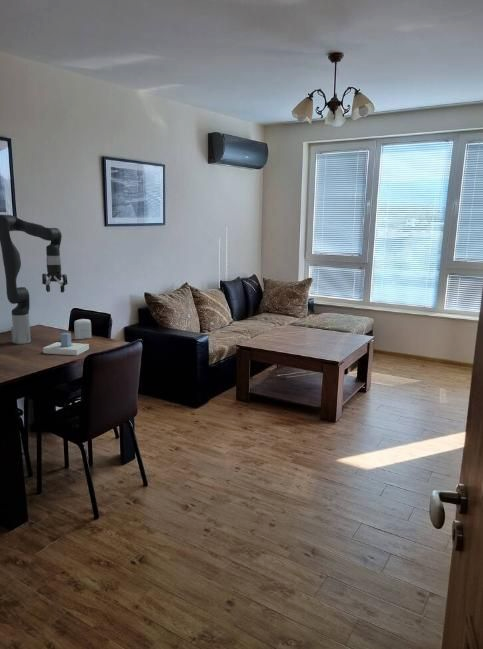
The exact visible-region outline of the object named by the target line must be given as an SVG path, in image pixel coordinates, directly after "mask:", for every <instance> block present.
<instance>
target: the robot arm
mask: <svg viewBox="0 0 483 649" xmlns="http://www.w3.org/2000/svg"><path fill="white" fill-rule="evenodd" d="M15 231H16V232H17V231H18V232H23V233H25V234H28V235H29V236H33V237H35V238H40V239H42V240H44V241H48V242H49V241H50V244H48V245H47V246H46V247H45V248H46V249H45V250H46V251H45V252H46V259H45V260H46V272H47V273H42V275H41V278H42V280H41V281H42V282H41V283H42V285H45V291H46V292H47V293H50V292H51V283H54V282H55V283H56V282H57V283H58V284H59V285H60V286H59V287H60V293H64V292H65V286H66V285H68V284H69V283H68V277H67V274H66V273H65V274H62V262H61V259H62V258H61V250H60V247H61V243H62V238H63V236H62V232H61V230H60V229H59V228H57V227H45V226H44V225H42V224H39V223H34V222H30V221H26V220H23V219H20V218H18V217H16V216H14V215H11V214H0V249H1V254H2V255H1V256H2V262H3V267H4V268H3V269H4V273H5V274H4V275H5V286H6V298H7V300H8V302H9V303H10V304H12V305H16V304H17V305H16V306H15V307H14V308H13V309H11V318H12V320H11V322H12V326H11V329H10V330H11V340H12V344H17V345H23V344H29V343H31V340H32V339H31V327H30V326H31V325H30V315H29V314H30V313H29V312H30V306H31V305H30V304H31V303H30V301H31V300H30V293H29V290H28V288H26V287H23V286H20V287H18V286H17V279H18V274H19V272H20V270H21V268H22V261H21V260H22V259H21V254H20V251H19V250H18V249H17V246H16V245H15V244H14V243H13V241H12V238H11V234H10V232H15Z"/></svg>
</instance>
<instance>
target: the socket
mask: <svg viewBox="0 0 483 649" xmlns="http://www.w3.org/2000/svg"><path fill="white" fill-rule="evenodd" d="M71 345H72V346H70V347H61V341H60V342H59V341H58V342H57V341H56V342H54V343H52V344H49V345H47V346H44V347H42V348H43V349H42V351H43V352H42V353H43V354H52V355H53V354H54V355H67V356H69V355H70V356H78V355H81V354H82V353H84V352H85V351H88V350H90V344H89V343H79V342H78V343H77V342H71Z"/></svg>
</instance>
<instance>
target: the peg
mask: <svg viewBox="0 0 483 649" xmlns="http://www.w3.org/2000/svg"><path fill="white" fill-rule="evenodd" d="M60 342H61V347H70V346H72V345H71V343H72V334H71V332H62V333H60Z"/></svg>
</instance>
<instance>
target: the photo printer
mask: <svg viewBox="0 0 483 649" xmlns="http://www.w3.org/2000/svg"><path fill="white" fill-rule="evenodd" d="M73 326H74V340H85V339H92V322H91V320H90V319H87V318H86V319H85V318H80V319H77V320H74V323H73Z"/></svg>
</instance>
